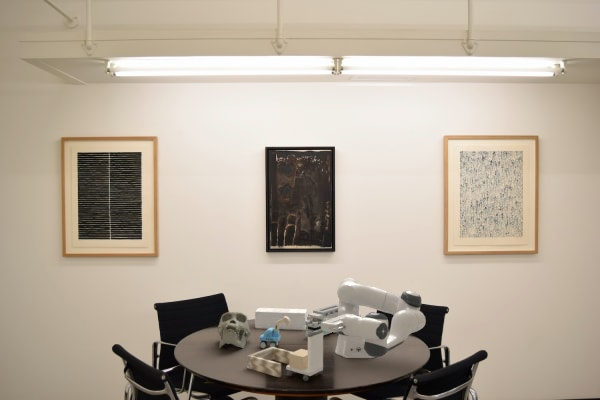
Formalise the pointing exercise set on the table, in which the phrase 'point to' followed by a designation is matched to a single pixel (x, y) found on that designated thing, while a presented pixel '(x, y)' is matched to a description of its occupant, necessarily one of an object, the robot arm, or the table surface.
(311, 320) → the toy vehicle
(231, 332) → the skull
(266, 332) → the toy excavator
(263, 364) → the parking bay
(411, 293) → the robot arm
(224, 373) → the table surface
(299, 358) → the trolley
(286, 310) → the long white block
